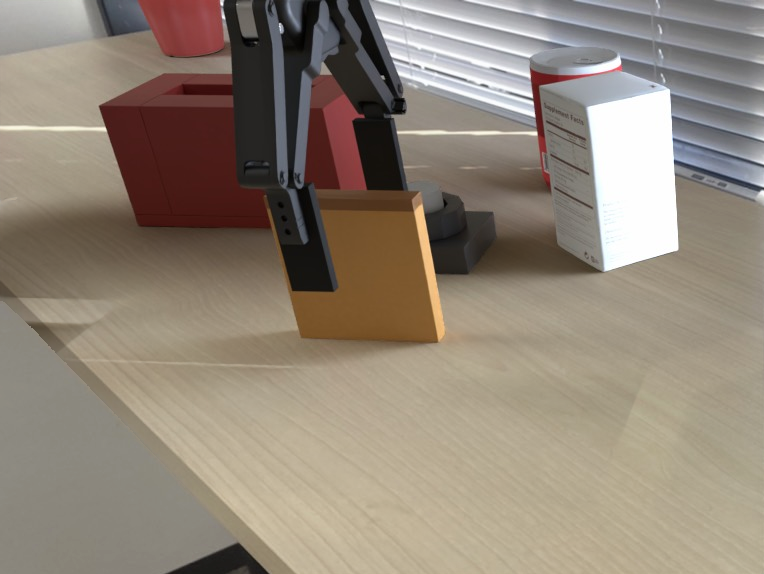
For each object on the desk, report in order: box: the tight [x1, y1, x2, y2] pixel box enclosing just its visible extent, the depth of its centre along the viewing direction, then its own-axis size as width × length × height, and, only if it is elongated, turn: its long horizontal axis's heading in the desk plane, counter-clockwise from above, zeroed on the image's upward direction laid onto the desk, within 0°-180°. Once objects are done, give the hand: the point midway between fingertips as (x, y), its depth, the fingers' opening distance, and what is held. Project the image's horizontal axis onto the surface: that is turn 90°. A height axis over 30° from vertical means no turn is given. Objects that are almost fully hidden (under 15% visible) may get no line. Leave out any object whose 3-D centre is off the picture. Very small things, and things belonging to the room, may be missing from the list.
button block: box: [424, 191, 498, 276], centre depth 92 cm, size 9×8×4 cm
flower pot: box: [137, 0, 225, 58], centre depth 150 cm, size 11×11×10 cm
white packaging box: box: [539, 70, 679, 273], centre depth 89 cm, size 7×7×13 cm
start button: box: [407, 180, 444, 214], centre depth 90 cm, size 4×4×2 cm
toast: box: [263, 189, 446, 343], centre depth 78 cm, size 10×2×10 cm, turn 84°
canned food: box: [528, 46, 623, 190], centre depth 103 cm, size 8×8×11 cm
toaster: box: [98, 72, 367, 230], centre depth 100 cm, size 19×10×10 cm, turn 84°
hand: (356, 249), depth 77 cm, fingers open, 13 cm apart
